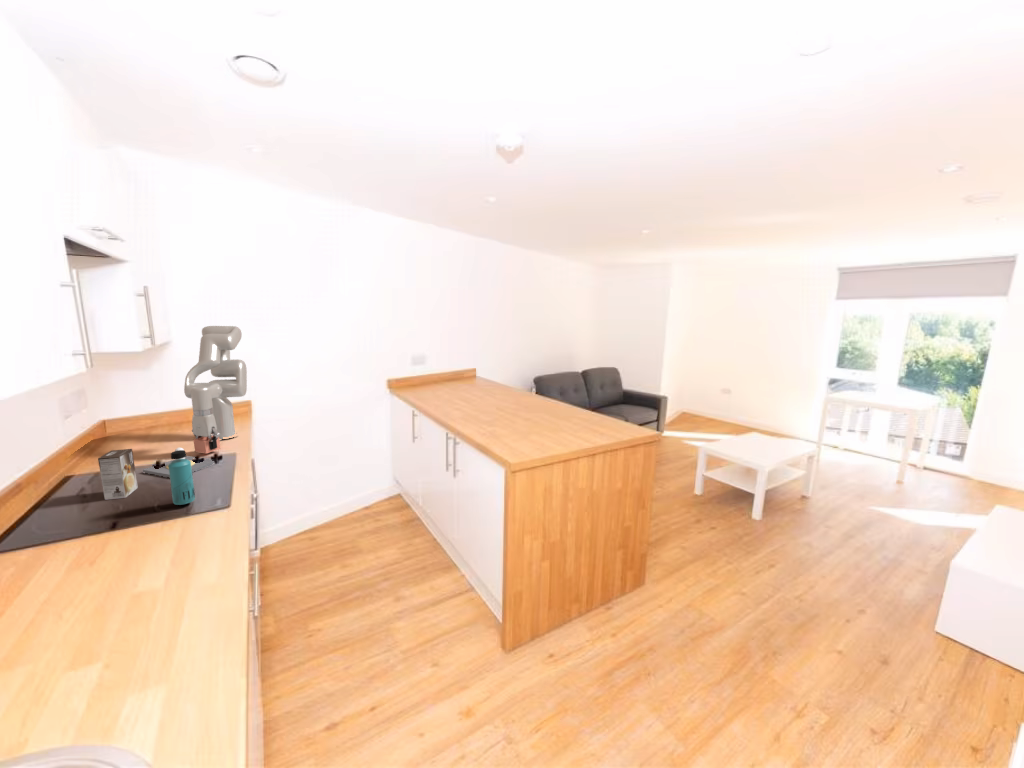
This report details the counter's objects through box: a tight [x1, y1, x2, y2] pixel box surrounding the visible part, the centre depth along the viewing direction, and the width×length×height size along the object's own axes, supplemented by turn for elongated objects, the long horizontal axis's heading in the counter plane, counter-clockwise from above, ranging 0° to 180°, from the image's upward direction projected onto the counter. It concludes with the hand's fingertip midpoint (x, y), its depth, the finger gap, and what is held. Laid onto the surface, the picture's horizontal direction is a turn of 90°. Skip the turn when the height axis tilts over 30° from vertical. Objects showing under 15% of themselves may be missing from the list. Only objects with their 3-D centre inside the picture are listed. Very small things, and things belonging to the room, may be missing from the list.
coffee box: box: [97, 448, 139, 501], centre depth 150 cm, size 9×6×16 cm
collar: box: [193, 436, 221, 454], centre depth 195 cm, size 7×7×6 cm
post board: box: [142, 447, 214, 479], centre depth 176 cm, size 18×18×9 cm
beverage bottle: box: [168, 449, 196, 506], centre depth 143 cm, size 6×7×20 cm
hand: (207, 447), depth 195 cm, fingers closed on collar, 7 cm apart
